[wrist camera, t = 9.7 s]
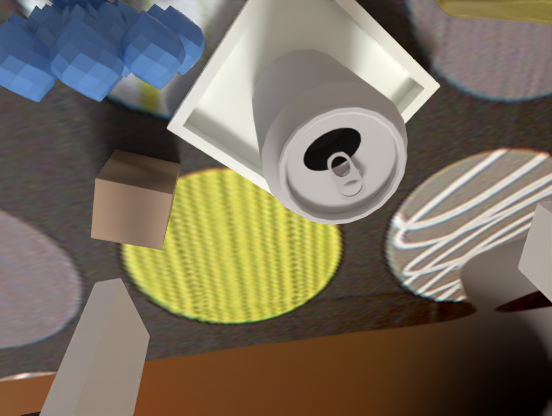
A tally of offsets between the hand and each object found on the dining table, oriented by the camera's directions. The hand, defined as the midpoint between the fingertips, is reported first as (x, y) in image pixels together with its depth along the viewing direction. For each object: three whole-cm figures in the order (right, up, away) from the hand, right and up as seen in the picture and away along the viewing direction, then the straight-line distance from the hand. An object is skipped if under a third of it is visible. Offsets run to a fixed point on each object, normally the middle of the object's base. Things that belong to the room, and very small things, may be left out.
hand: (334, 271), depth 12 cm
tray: (0, +10, +16) cm, 19 cm away
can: (0, +10, +16) cm, 19 cm away
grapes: (-12, +15, +12) cm, 22 cm away
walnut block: (-13, +4, +18) cm, 23 cm away
